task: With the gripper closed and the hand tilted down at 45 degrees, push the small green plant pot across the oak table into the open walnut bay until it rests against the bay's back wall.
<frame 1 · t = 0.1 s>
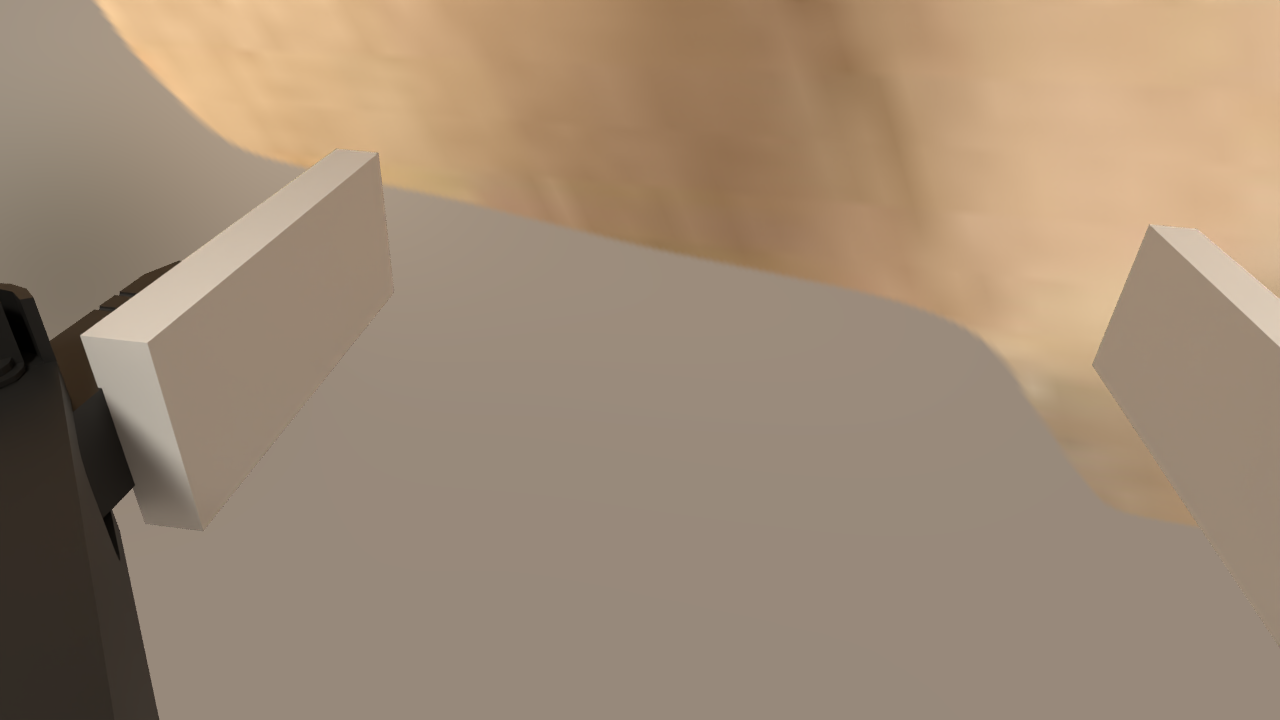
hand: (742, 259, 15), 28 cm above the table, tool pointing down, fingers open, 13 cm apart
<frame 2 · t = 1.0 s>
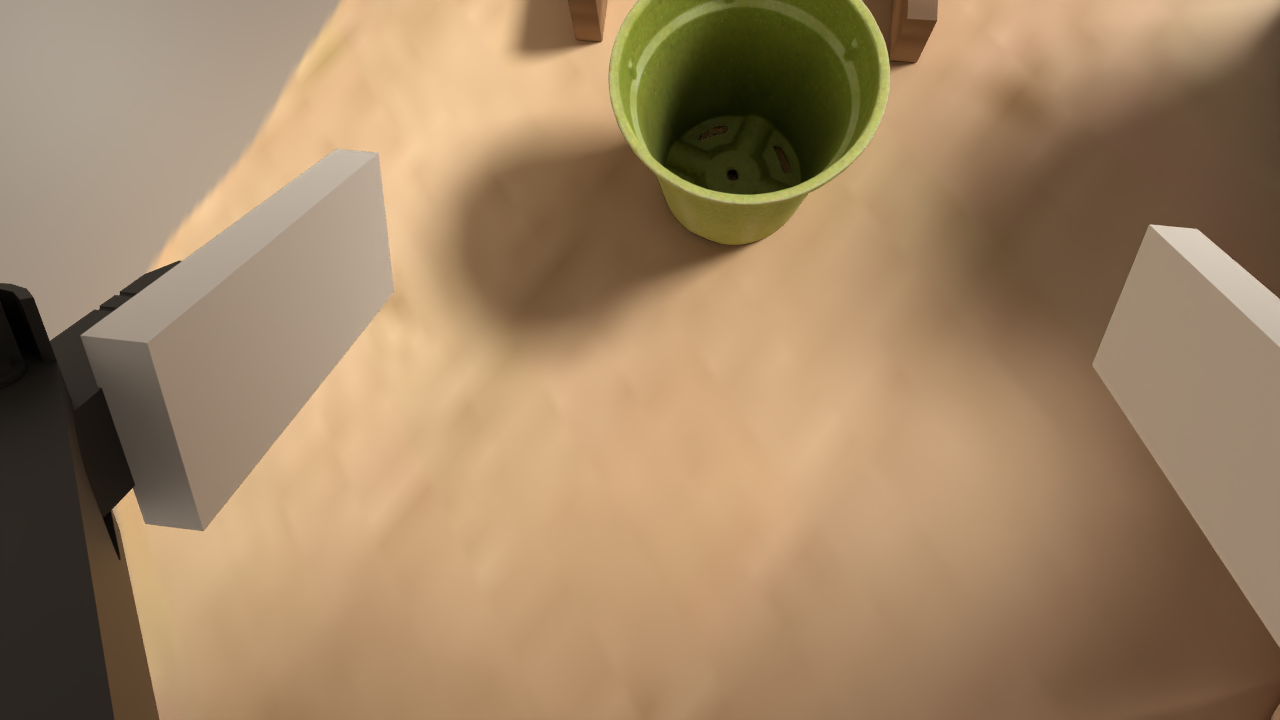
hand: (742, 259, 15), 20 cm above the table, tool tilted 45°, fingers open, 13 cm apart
plant pot: (732, 184, 37), on the table
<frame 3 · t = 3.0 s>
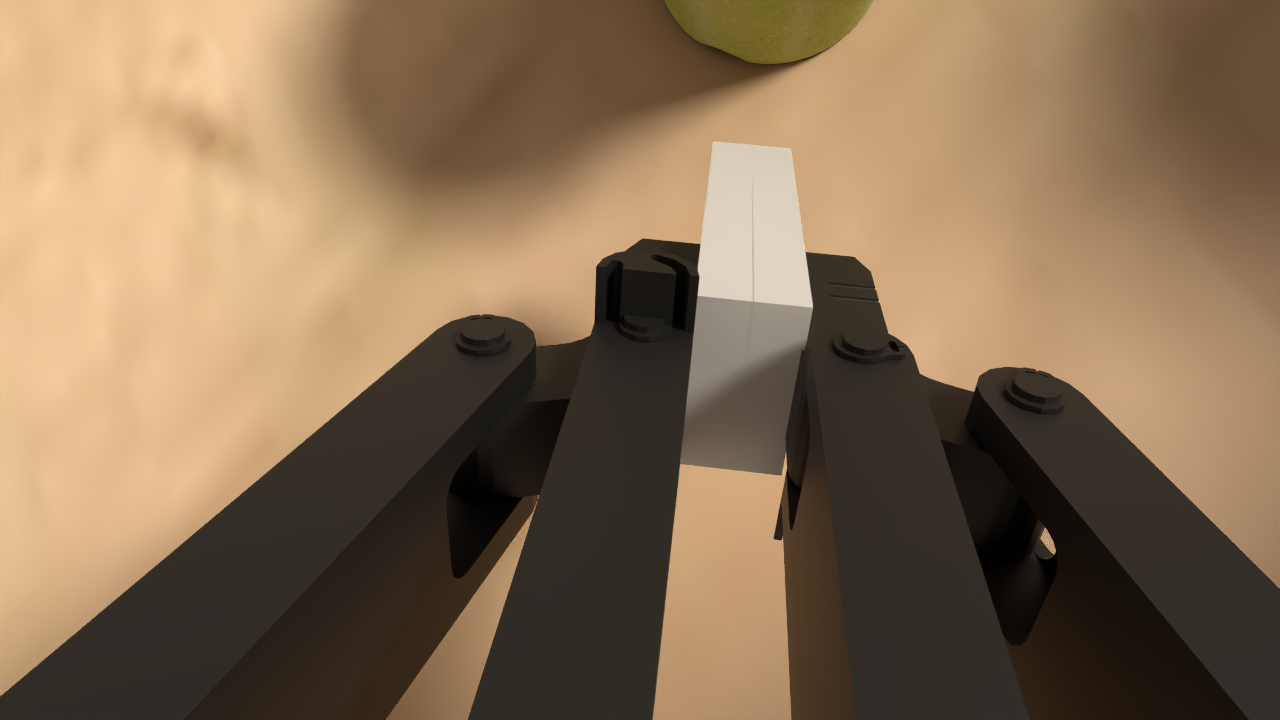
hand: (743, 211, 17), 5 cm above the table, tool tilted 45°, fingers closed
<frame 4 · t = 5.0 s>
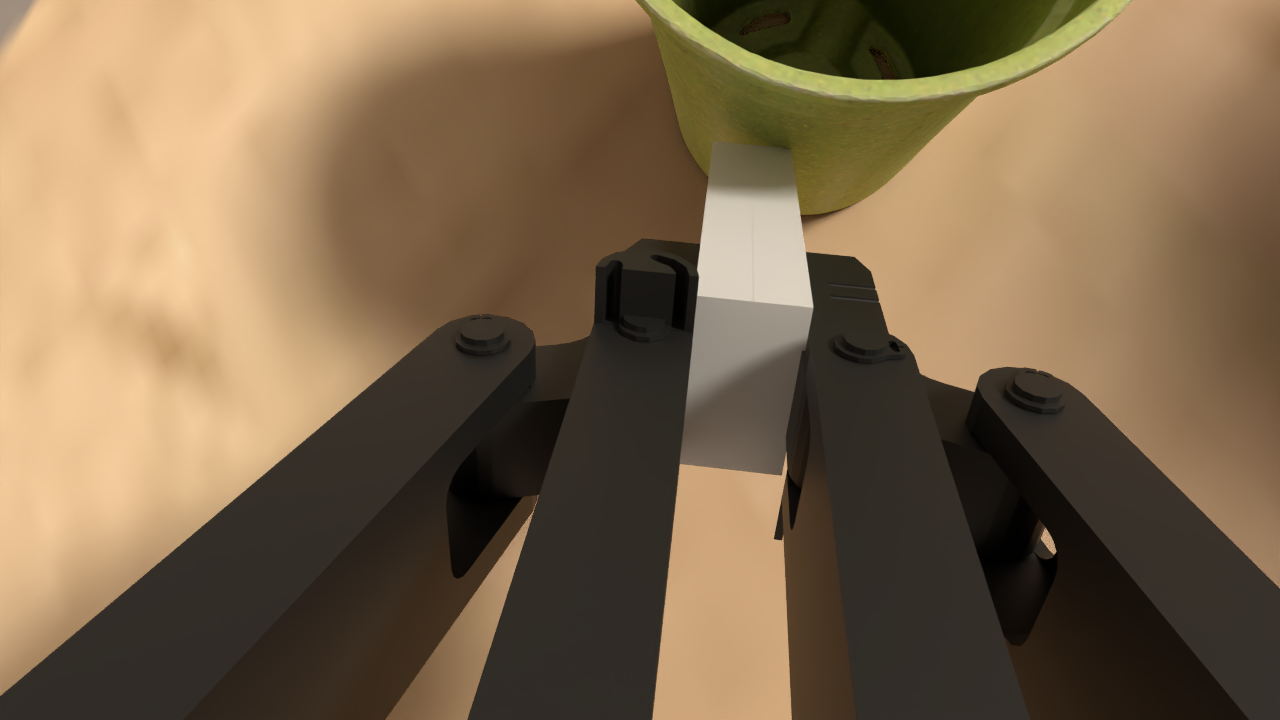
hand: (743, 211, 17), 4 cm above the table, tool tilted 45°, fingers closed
plant pot: (796, 112, 21), on the table, touching gripper
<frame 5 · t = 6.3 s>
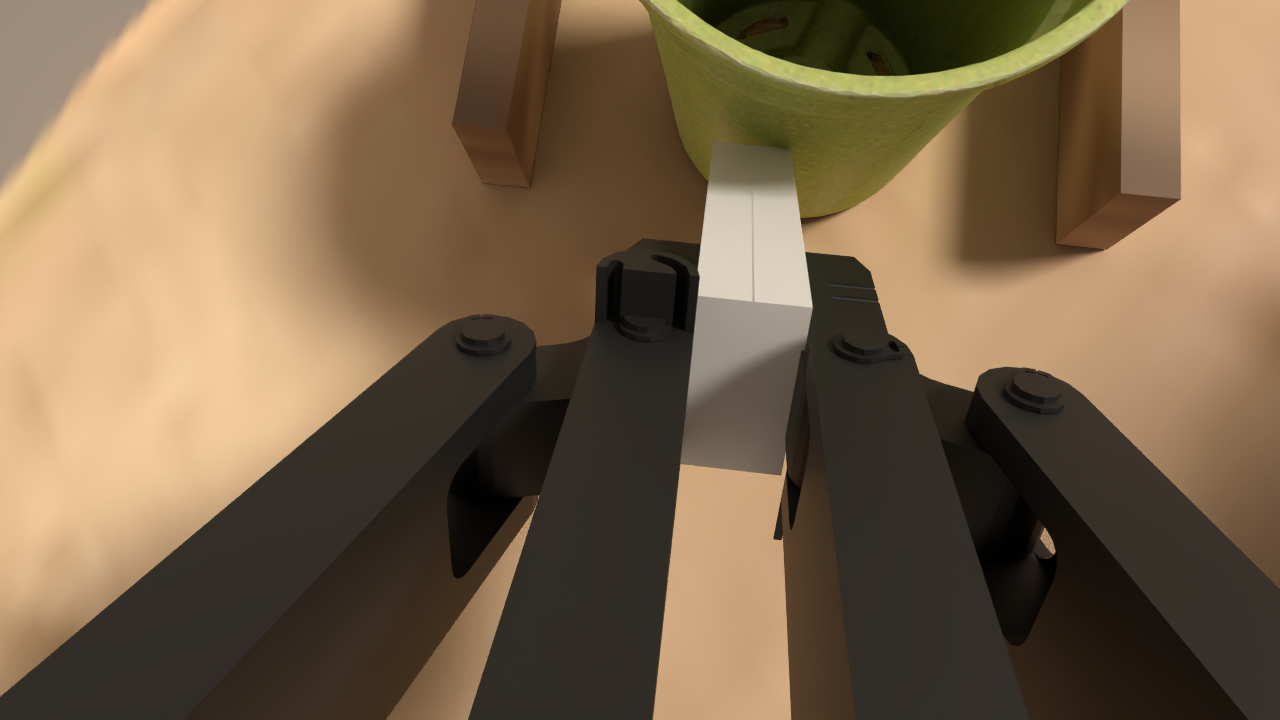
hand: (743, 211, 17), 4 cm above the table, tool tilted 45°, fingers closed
plant pot: (794, 116, 21), on the table, touching gripper
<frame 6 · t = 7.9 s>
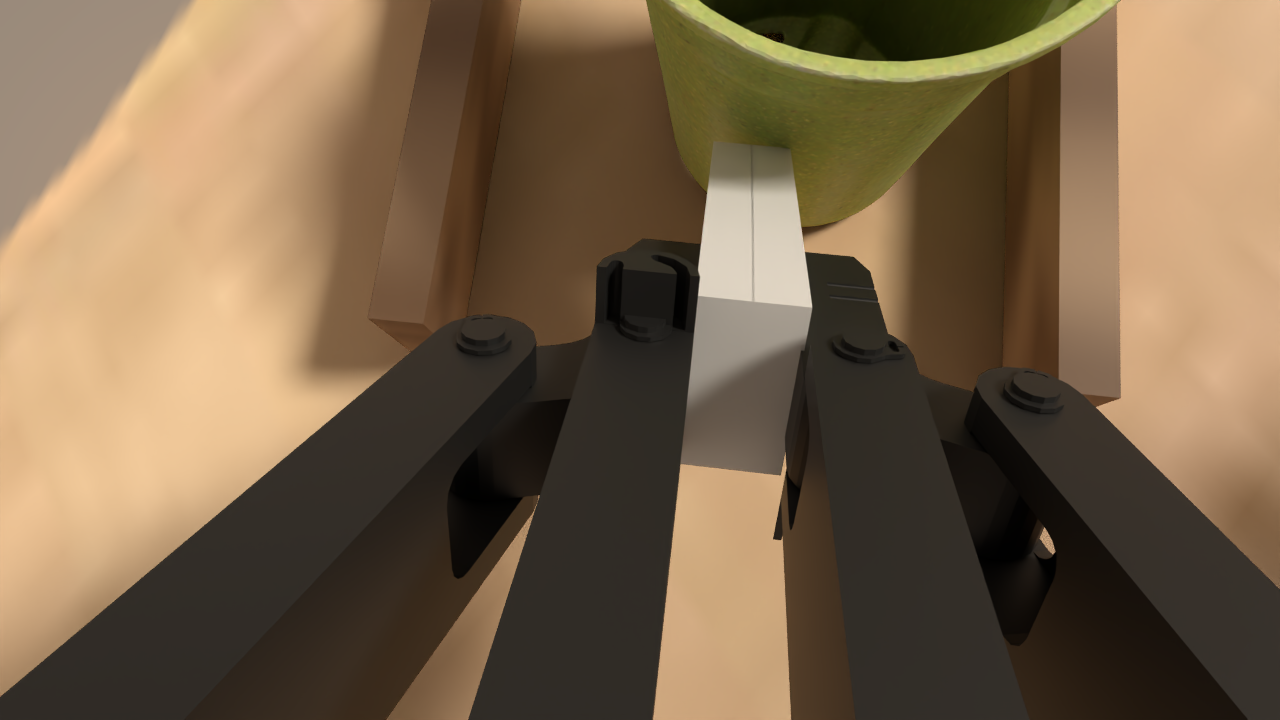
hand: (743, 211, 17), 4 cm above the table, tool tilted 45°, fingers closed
plant pot: (791, 128, 21), on the table, touching gripper
walnut bay: (749, 136, 21), on the table
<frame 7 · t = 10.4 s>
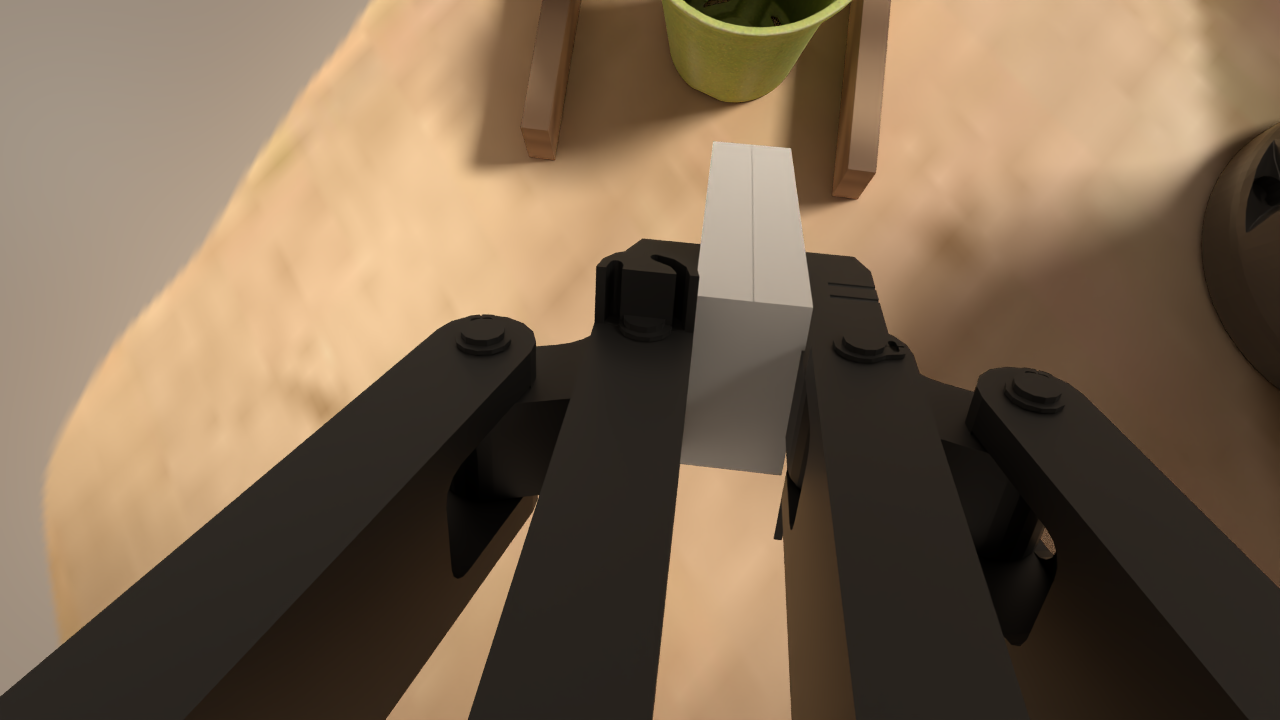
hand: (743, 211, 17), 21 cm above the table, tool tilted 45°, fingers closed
plant pot: (732, 49, 40), on the table
walnut bay: (709, 49, 40), on the table
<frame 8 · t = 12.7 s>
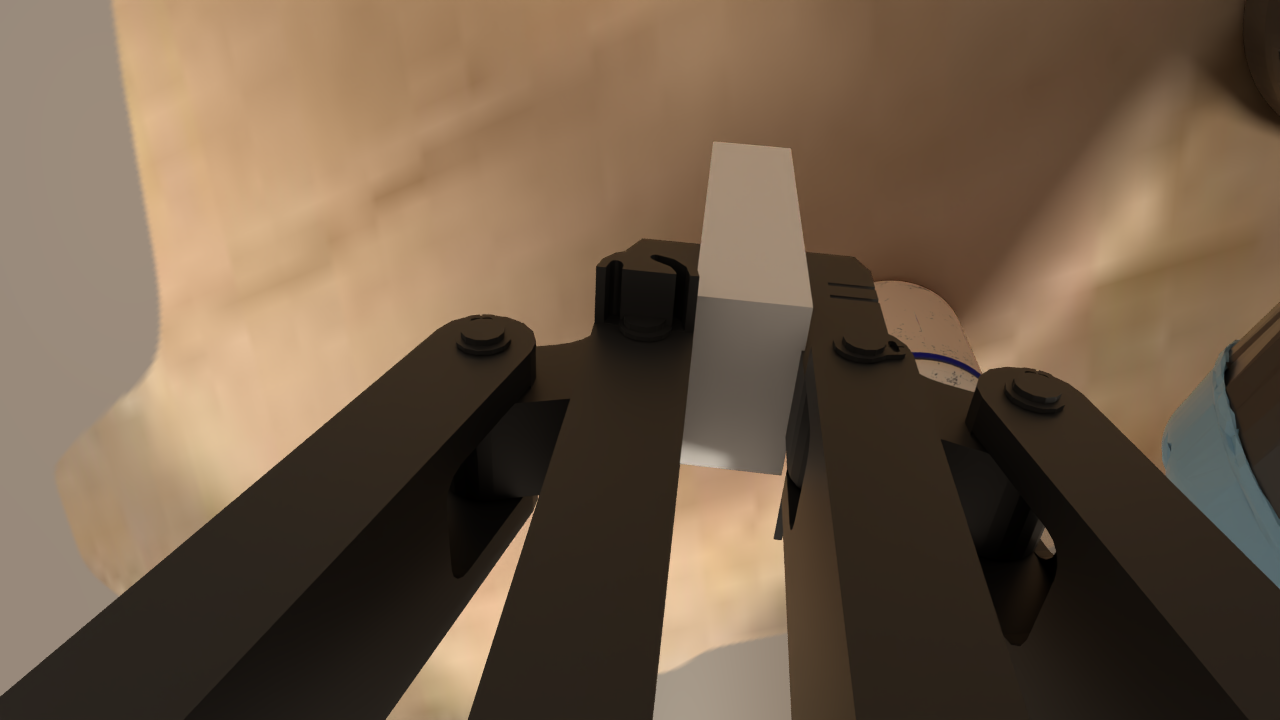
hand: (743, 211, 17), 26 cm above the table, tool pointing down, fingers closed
teacup with lid: (896, 360, 48), on the table
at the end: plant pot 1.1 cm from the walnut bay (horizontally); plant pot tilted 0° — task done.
